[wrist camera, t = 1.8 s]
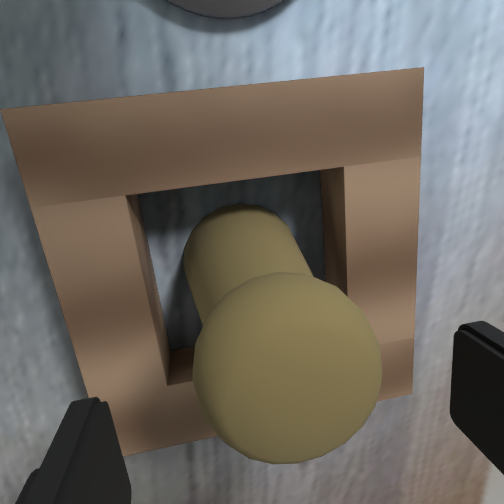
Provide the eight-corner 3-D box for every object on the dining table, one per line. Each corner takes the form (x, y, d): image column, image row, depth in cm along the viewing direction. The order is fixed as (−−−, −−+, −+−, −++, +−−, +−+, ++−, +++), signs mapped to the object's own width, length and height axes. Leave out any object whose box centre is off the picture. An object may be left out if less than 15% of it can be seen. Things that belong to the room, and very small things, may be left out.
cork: (232, 333, 20) (277, 540, 10) (157, 254, 18) (113, 408, 8) (318, 266, 20) (461, 407, 9) (252, 178, 18) (340, 232, 7)
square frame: (35, 114, 15) (0, 108, 13) (385, 79, 17) (424, 67, 14) (119, 415, 20) (107, 459, 18) (384, 361, 22) (412, 393, 19)
